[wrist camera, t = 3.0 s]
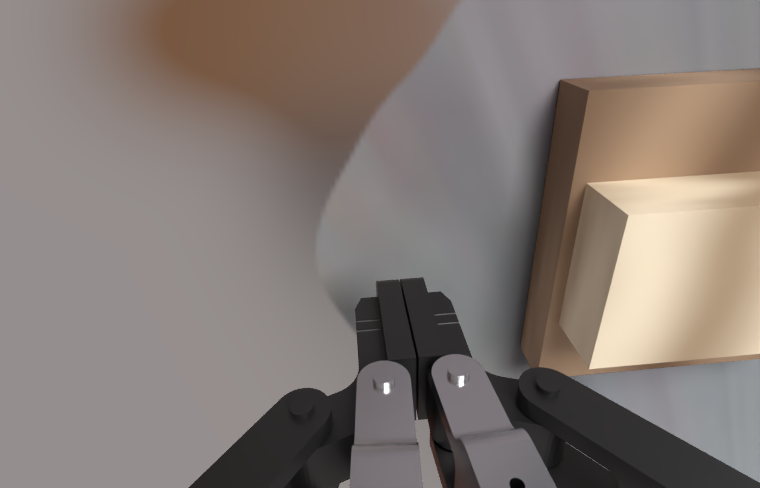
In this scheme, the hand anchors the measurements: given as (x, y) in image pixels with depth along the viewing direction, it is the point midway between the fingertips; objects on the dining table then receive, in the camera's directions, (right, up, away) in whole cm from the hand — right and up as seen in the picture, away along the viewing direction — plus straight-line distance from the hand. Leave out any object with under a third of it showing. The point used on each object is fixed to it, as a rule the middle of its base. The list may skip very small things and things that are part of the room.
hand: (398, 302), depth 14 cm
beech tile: (+11, +2, +2) cm, 11 cm away
